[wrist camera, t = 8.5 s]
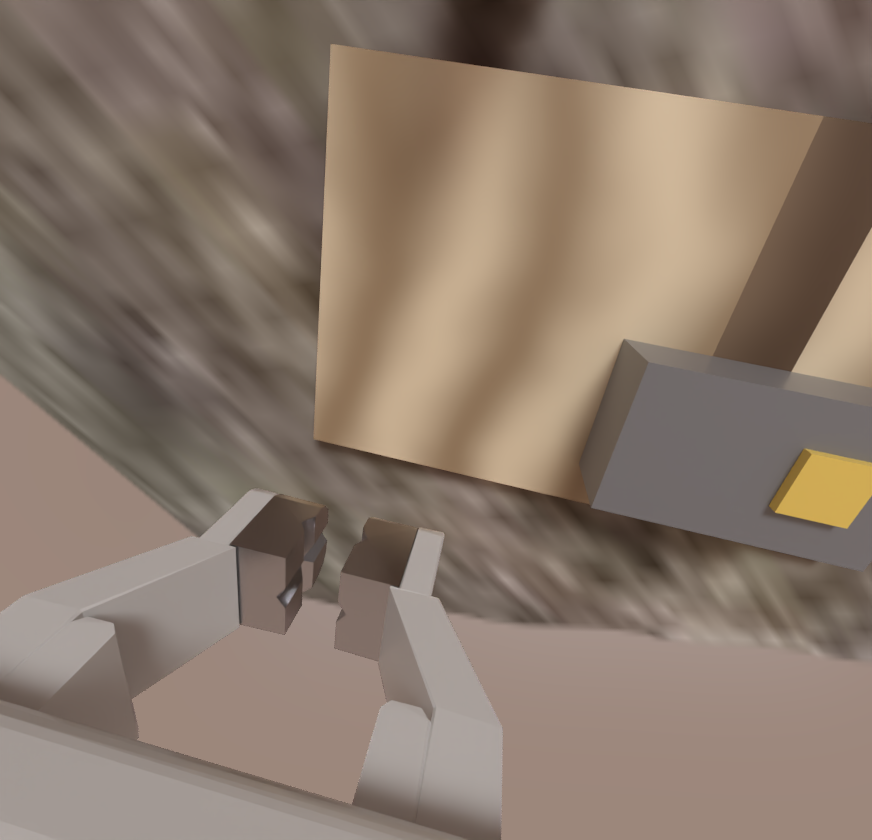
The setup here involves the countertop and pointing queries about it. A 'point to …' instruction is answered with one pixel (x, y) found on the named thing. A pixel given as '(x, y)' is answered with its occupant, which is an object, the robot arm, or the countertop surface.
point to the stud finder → (735, 453)
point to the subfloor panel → (566, 255)
